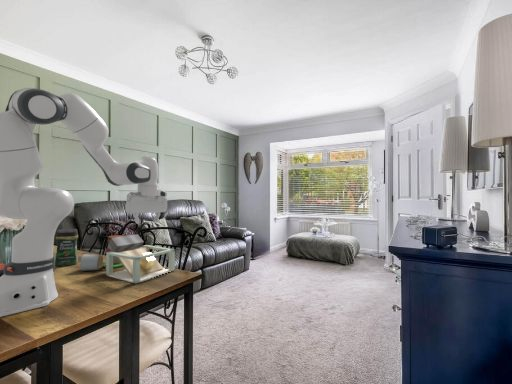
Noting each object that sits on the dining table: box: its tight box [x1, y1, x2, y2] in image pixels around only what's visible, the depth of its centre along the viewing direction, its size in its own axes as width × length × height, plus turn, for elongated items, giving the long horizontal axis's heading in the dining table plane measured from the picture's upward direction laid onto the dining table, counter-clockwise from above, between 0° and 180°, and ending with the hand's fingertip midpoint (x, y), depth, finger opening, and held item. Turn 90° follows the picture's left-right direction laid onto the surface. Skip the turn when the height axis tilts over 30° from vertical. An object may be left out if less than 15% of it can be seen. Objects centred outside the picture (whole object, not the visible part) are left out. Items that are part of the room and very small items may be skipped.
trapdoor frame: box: [105, 244, 176, 284], centre depth 125 cm, size 21×21×10 cm
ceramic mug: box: [79, 253, 104, 272], centre depth 132 cm, size 11×8×8 cm
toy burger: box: [103, 234, 124, 269], centre depth 139 cm, size 12×13×15 cm
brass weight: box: [140, 252, 157, 271], centre depth 123 cm, size 4×5×6 cm
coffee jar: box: [54, 228, 79, 267], centre depth 140 cm, size 10×8×19 cm
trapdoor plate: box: [107, 234, 164, 278], centre depth 127 cm, size 16×24×5 cm
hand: (147, 222), depth 123 cm, fingers open, 8 cm apart
